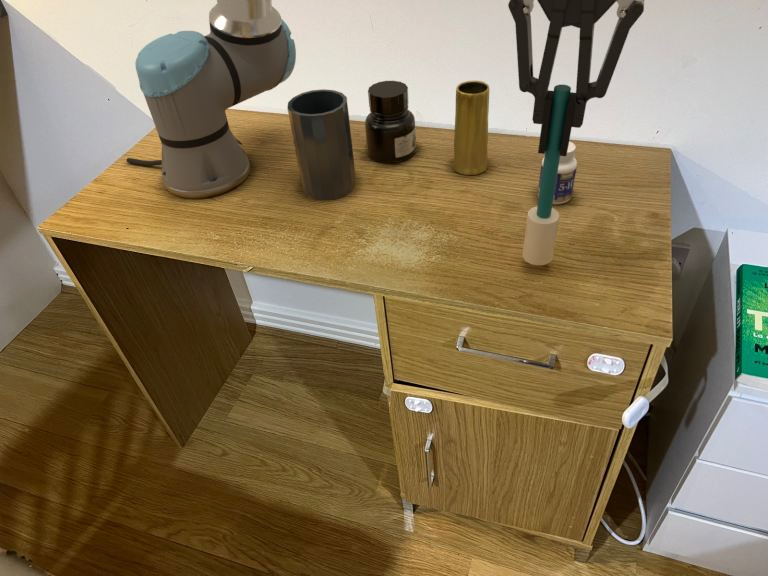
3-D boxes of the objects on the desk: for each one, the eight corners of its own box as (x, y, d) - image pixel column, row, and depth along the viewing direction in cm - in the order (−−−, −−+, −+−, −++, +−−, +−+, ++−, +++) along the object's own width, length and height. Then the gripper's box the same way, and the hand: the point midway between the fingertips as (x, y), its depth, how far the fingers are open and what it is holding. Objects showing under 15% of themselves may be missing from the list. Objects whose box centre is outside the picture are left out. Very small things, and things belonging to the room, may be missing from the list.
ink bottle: (410, 167, 104) (407, 102, 96) (362, 164, 106) (355, 100, 98) (420, 140, 111) (418, 77, 103) (374, 137, 113) (369, 76, 105)
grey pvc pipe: (294, 196, 99) (277, 112, 89) (315, 168, 106) (302, 87, 96) (344, 203, 97) (333, 118, 87) (363, 174, 103) (355, 91, 93)
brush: (520, 262, 80) (541, 94, 64) (524, 245, 83) (546, 78, 67) (550, 267, 79) (579, 97, 63) (554, 249, 82) (583, 81, 66)
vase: (487, 157, 105) (491, 78, 95) (488, 175, 100) (493, 95, 91) (452, 157, 105) (453, 79, 96) (452, 176, 101) (453, 96, 91)
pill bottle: (560, 209, 92) (568, 158, 86) (531, 198, 94) (537, 148, 88) (577, 194, 94) (586, 144, 88) (548, 183, 97) (555, 134, 91)
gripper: (499, -72, 54) (484, 157, 69) (676, -71, 49) (617, 173, 65) (513, -90, 59) (496, 128, 75) (674, -90, 55) (620, 140, 70)
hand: (553, 148), depth 70 cm, fingers closed on brush, 2 cm apart
